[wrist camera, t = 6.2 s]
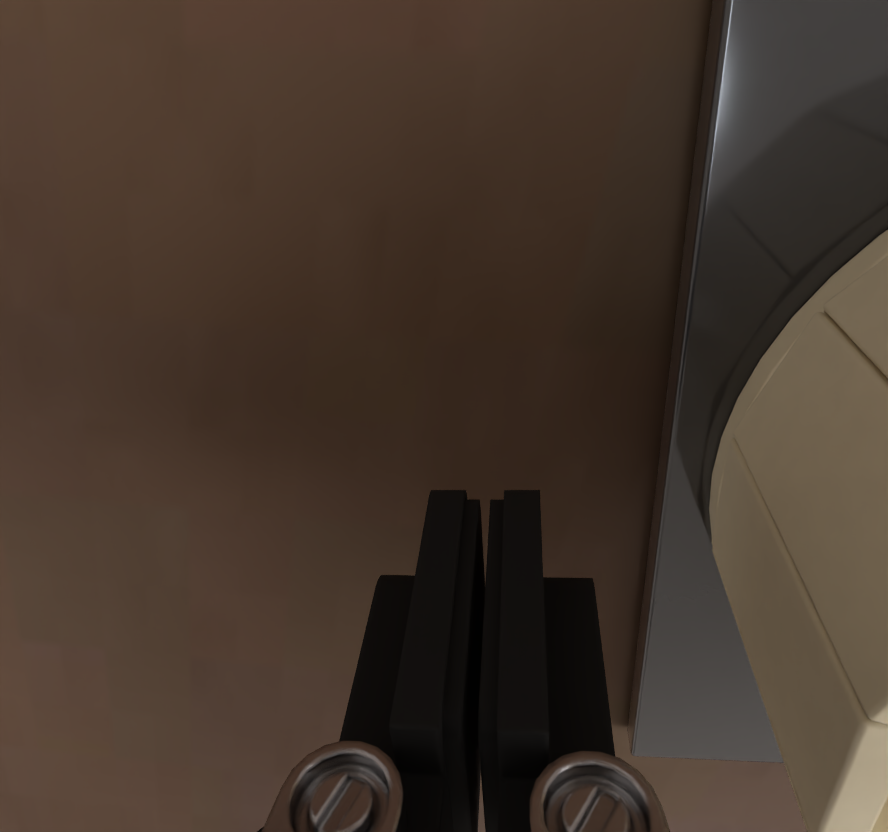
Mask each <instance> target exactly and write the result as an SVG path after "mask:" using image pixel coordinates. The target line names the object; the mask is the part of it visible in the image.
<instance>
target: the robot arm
mask: <svg viewBox="0 0 888 832" xmlns="http://www.w3.org/2000/svg"><path fill="white" fill-rule="evenodd" d="M480 773H481V778H482V791H483V804H484V817H485V829H486V832H670V829H669V826H668V823H667V820H666V817H665V814H664V811H663V808H662V805H661V803H660V801H659V799H658V797H657V795H656V793H655V791H654V789H653V787H652V786H651V785H650V783H649V782H648V781H647V780H646V779H645V778H644V777H643V775H642V774H641V773H640V772H639V771H638V770H637V769H635V768H634V767H632V766H631V765H629V764H628V763H626V762H625V761H623V760H622V759H620V758H618V757H615V751H614V743H613V735H612V727H611V718H610V710H609V702H608V694H607V685H606V677H605V669H604V661H603V652H602V644H601V636H600V628H599V619H598V611H597V603H596V595H595V587H594V582H593V578H545V577H543V563H542V536H541V510H540V490H504V500H490V515H489V532H488V550H487V567H486V585H485V576H484V559H483V542H482V524H481V507H480V500H467V493H466V490H431V491H430V494H429V499H428V505H427V511H426V517H425V522H424V528H423V534H422V539H421V545H420V551H419V557H418V562H417V568H416V574H415V576H408V575H381V576H380V577H379V579H378V581H377V585H376V588H375V592H374V596H373V600H372V605H371V609H370V613H369V617H368V622H367V626H366V630H365V634H364V639H363V643H362V647H361V651H360V656H359V660H358V664H357V668H356V673H355V677H354V681H353V685H352V689H351V694H350V698H349V702H348V706H347V711H346V715H345V719H344V723H343V728H342V732H341V736H340V740H339V742H336V743H332V744H328V745H324V746H322V747H321V748H319V749H317V750H315V751H314V752H312V753H310V754H308V755H307V756H306V757H305V758H304V759H303V760H302V761H301V762H299V763H298V764H297V765H296V766H295V767H294V768H293V769H292V771H291V772H290V774H289V776H288V777H287V779H286V781H285V782H284V784H283V785H282V787H281V789H280V792H279V794H278V796H277V798H276V801H275V803H274V805H273V807H272V810H271V812H270V814H269V816H268V819H267V821H266V823H265V825H264V827H263V828H261V829H260V830H259V831H257V832H478V813H479V793H480Z"/></svg>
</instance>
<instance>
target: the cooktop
mask: <svg viewBox="0 0 888 832" xmlns="http://www.w3.org/2000/svg"><path fill="white" fill-rule="evenodd" d="M886 230H888V0H712V9H711V18H710V26H709V35H708V43H707V52H706V60H705V69H704V78H703V86H702V95H701V103H700V112H699V121H698V129H697V138H696V146H695V155H694V163H693V172H692V181H691V189H690V198H689V206H688V215H687V224H686V232H685V241H684V249H683V258H682V266H681V275H680V284H679V292H678V301H677V309H676V318H675V326H674V335H673V344H672V352H671V361H670V369H669V378H668V387H667V395H666V404H665V412H664V421H663V429H662V438H661V447H660V455H659V464H658V472H657V481H656V490H655V498H654V507H653V515H652V524H651V532H650V541H649V550H648V558H647V567H646V575H645V584H644V592H643V601H642V610H641V618H640V627H639V635H638V644H637V653H636V661H635V670H634V678H633V687H632V695H631V704H630V713H629V721H628V730H627V731H628V738H629V745H630V751H631V754H632V755H633V756H642V757H663V758H685V759H707V760H729V761H751V762H772V763H784V762H783V759H782V756H781V753H780V750H779V747H778V744H777V741H776V738H775V735H774V732H773V730H772V727H771V724H770V721H769V718H768V715H767V712H766V709H765V706H764V703H763V700H762V697H761V694H760V691H759V688H758V685H757V682H756V679H755V676H754V673H753V670H752V668H751V665H750V662H749V659H748V656H747V653H746V650H745V647H744V644H743V641H742V638H741V635H740V632H739V629H738V626H737V623H736V620H735V617H734V614H733V611H732V608H731V606H730V603H729V600H728V597H727V594H726V591H725V588H724V585H723V582H722V579H721V576H720V573H719V570H718V567H717V564H716V561H715V558H714V555H713V552H712V547H713V546H712V543H711V542H712V534H711V524H710V513H709V504H710V492H711V480H712V472H713V468H714V464H715V460H716V457H717V453H718V449H719V445H720V441H721V437H722V435H723V432H724V430H725V427H726V425H727V423H728V420H729V418H730V415H731V413H732V411H733V408H734V406H735V403H736V401H737V399H738V397H739V395H740V393H741V392H742V390H743V388H744V386H745V385H746V383H747V381H748V380H749V378H750V376H751V375H752V373H753V371H754V369H755V368H756V366H757V364H758V363H759V361H760V359H761V358H762V356H763V355H764V354H765V352H766V351H767V350H768V348H769V347H770V346H771V344H772V343H773V342H774V341H775V339H776V338H777V337H778V335H779V334H780V333H781V331H782V330H783V329H784V327H785V326H786V325H787V324H788V322H789V321H790V320H791V318H792V317H793V316H794V315H795V314H796V313H797V312H798V311H799V310H800V309H801V308H802V307H803V305H804V304H805V303H806V302H807V301H808V300H809V299H810V298H811V297H812V296H813V295H814V294H815V293H816V292H817V291H818V290H819V289H820V288H821V287H822V286H823V285H824V283H825V282H826V281H827V280H828V279H829V278H830V277H831V276H832V275H833V274H835V273H836V272H837V271H838V270H839V269H840V268H842V267H843V266H844V265H845V264H846V263H848V262H849V261H850V260H851V259H852V258H853V257H855V256H856V255H857V254H858V253H859V252H860V251H862V250H863V249H864V248H865V247H866V246H867V245H869V244H870V243H871V242H872V241H873V240H874V239H876V238H877V237H878V236H879V235H881V234H882V233H884V232H885V231H886Z"/></svg>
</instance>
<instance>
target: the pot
mask: <svg viewBox="0 0 888 832" xmlns="http://www.w3.org/2000/svg"><path fill="white" fill-rule="evenodd" d="M709 513H710V524H711V534H712V542H711V543H712V546H713V547H712V552H713V555H714V558H715V561H716V564H717V567H718V570H719V573H720V576H721V579H722V582H723V585H724V588H725V591H726V594H727V597H728V600H729V603H730V606H731V608H732V611H733V614H734V617H735V620H736V623H737V626H738V629H739V632H740V635H741V638H742V641H743V644H744V647H745V650H746V653H747V656H748V659H749V662H750V665H751V668H752V670H753V673H754V676H755V679H756V682H757V685H758V688H759V691H760V694H761V697H762V700H763V703H764V706H765V709H766V712H767V715H768V718H769V721H770V724H771V727H772V730H773V732H774V735H775V738H776V741H777V744H778V747H779V750H780V753H781V756H782V759H783V762H784V765H785V768H786V771H787V774H788V777H789V780H790V783H791V786H792V789H793V792H794V794H795V797H796V800H797V803H798V806H799V809H800V812H801V815H802V818H803V821H804V824H805V827H806V830H807V832H888V230H886V231H885V232H884V233H882V234H881V235H879V236H878V237H877V238H876V239H874V240H873V241H872V242H871V243H870V244H869V245H867V246H866V247H865V248H864V249H863V250H862V251H860V252H859V253H858V254H857V255H856V256H855V257H853V258H852V259H851V260H850V261H849V262H848V263H846V264H845V265H844V266H843V267H842V268H840V269H839V270H838V271H837V272H836V273H835V274H833V275H832V276H831V277H830V278H829V279H828V280H827V281H826V282H825V283H824V285H823V286H822V287H821V288H820V289H819V290H818V291H817V292H816V293H815V294H814V295H813V296H812V297H811V298H810V299H809V300H808V301H807V302H806V303H805V304H804V305H803V307H802V308H801V309H800V310H799V311H798V312H797V313H796V314H795V315H794V316H793V317H792V318H791V320H790V321H789V322H788V324H787V325H786V326H785V327H784V329H783V330H782V331H781V333H780V334H779V335H778V337H777V338H776V339H775V341H774V342H773V343H772V344H771V346H770V347H769V348H768V350H767V351H766V352H765V354H764V355H763V356H762V358H761V359H760V361H759V363H758V364H757V366H756V368H755V369H754V371H753V373H752V375H751V376H750V378H749V380H748V381H747V383H746V385H745V386H744V388H743V390H742V392H741V393H740V395H739V397H738V399H737V401H736V403H735V406H734V408H733V411H732V413H731V415H730V418H729V420H728V423H727V425H726V427H725V430H724V432H723V435H722V437H721V441H720V445H719V449H718V453H717V457H716V460H715V464H714V468H713V472H712V480H711V492H710V504H709Z"/></svg>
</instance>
